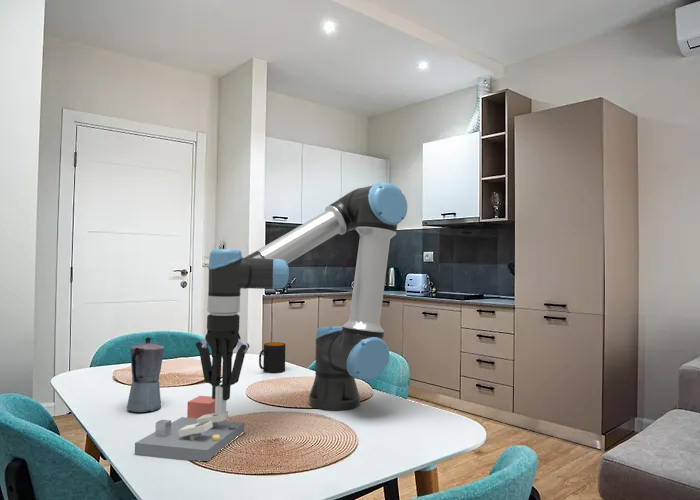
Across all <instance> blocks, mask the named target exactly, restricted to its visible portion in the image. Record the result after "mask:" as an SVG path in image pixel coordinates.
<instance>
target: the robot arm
mask: <svg viewBox="0 0 700 500" xmlns="http://www.w3.org/2000/svg"><path fill="white" fill-rule="evenodd" d="M407 213H408V201H407V199H406V196H405V194H404V193H403V192H402V190H401V188H399V187H398V186H397V185H395V184H392V183H390V182H386V183H384V182H383V183H380V182H379V183H375V184H371V185H368V186H364V187H363V186H362V187H358V188H356V189H354V190H351V191H349V192H348V193H346V194H345V195H343V196H341V197H340V198H339V199H337V200H334V202H332V203H331V204H329V205H327V206H326V207H325V208H324V211H323V212H322V213H320V214H318V215H317V216H315V217H313V218H311V219H310V220H308V221H306V222H304V223H302V224H301V225H299V226H297V227H296V228H294V229H291V231H289V232H287V233H285V234H283V235H281V236H279V237H277V238H276V239H275V240H273V241H271V242H270V243H268V244H266V245H264V246H262V247H261V248H259V249H257V250H256V251H254V252H252V253H250V254H248V255H247V256H245V257H243V255H242V253H243V252H242V251H241V250H240V249H233V248H232V249H229V248H214V249H212V250H211V251H210V253H209V261H208V269H207V270H208V292H207V308H206V310H207V313H209V314H208V315H207V317H206V331H207V332H206V334H205V337H204V339H201V341H197V342H196V343H195V346H196V349H197V350H198V352H199V357H200V363H201V369H202V374H203V375H202V376H203V379H204V382H205V384H210V385H211V397H212V399H215V415H222V414H223V413H225V412H226V411H227V401H228V400H230V398H231V386H232V385H235V384H237V383H238V382H239V379H240V375H241V372H242V368H243V363H244V359H245V355H246V353H247V351H248V350H249V348H250V344H249V343H247V342H246V343H245V342H244V341H242V340H241V335H240V321H241V320H240V318H241V317H240V315H239V314H238V313H240V311H241V289H247V290H248V289H255V290H256V289H257V290H258V289H261V290H265V289H267V290H269V289H270V290H276V289H283V288H285V287H286V286H287V284H288V281H289V277H290V269H289V264H290V263H291V262H293V261H295V260H296V259H298V258H299V257H301V256H302V255H304V254H306V253H308V252H309V251H311V250H313V249H314V248H316V247H317V246H319V245H321V244H322V243H324V242H326V241H328V240H330V239H331V238H333V237H335V236H336V235H341V236H342V235H345V234H346V233H348V232H350V231H352V230H355V231H356V232H357V233H358V235H359V242H358V249H357V256H356V262H355V263H356V265H355V270H354V272H355V273H354V280H353V287H352V295H351V301H350V302H351V303H350V310H349V317H348V318H349V319H348V321H346V322H345V323H344V324H343V325H337V326H335V325H334V326H320V327H319V328H317V330H316V333H315V373H314V374H315V377H314V381H313V383H312V387H311V390H310V392H309V396H308V404H309V406H310V407H312V408H315V409H320V410H325V411H345V410H351V409H355V408H358V407H359V405H360V404H361V396H360V392H359V390H358V389H359V388H358V385H357V383H356V379H358V380H359V379H360V380H363V381H364V380H366V381H369V380H374V379H375V378H377V377H379V375H381V373H383V372H384V371H385V370H386V368H387V366H388V364H389V360H390V348H389V347H388V346H387V343H386V342H385V340H384V337H385V336H384V335H385V330H384V329H383V327H382V326H381V323H380V322H381V315H382V306H383V301H384V299H383V298H384V290H385V283H386V276H387V275H386V274H387V266H388V258H389V251H390V243H391V239H393V237H395V236H396V235H397V232H398V231H397V230H398V224H400V223H401V222H402V221H403V220H405V218H406V217H407ZM235 349H236V350H237V351H236V353H235V354H236V355H235V357H234V362H233V356H234V350H235ZM210 350H211V354H210ZM211 357H212V358H211ZM232 364H233V365H232ZM221 379H222V380H221Z"/></svg>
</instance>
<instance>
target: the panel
mask: <svg viewBox="0 0 700 500" xmlns="http://www.w3.org/2000/svg"><path fill="white" fill-rule="evenodd" d="M196 419H198V418H187V417H185V416H181V417H180V418H177V419H176V420H174V421H171V434H170V435H168V436H166V437H158V436H155V431H153V432H152V433H150V434H148V435H147V436H145V437H142V438H141V439H140V440H138V441H136V442H135V443H134V455H136V456H145V457H154V458H163V459H172V460H173V459H175V460H183V461H191V460H200V461H208V460H209V459H210V458H212V457H213V456H214V455H215V454H216V453H218V452H219V451H220V450H221V449H222V448H224V447H225V446H226V445H227V444H229V443H230V442H231V441H232V440H234V439H235V438H236V437H237V436H239V435H240V434H241V433H242V432H244V431H246V430H245V426H246V424H245V422H243V421H242V422H241V421H231V420H230V421H229V420H223V421H220V422H214V423H212V424H213V427H212V428H210V429H209V430H207V431H206V432H201V433H196V434H192V435H187V436H182V437H179V433H178V430H180V429H182V428H183V427H185V426H187V425H192V424H197V420H196ZM224 449H225V448H224ZM219 453H220V452H219ZM219 453H218V454H219ZM214 457H215V456H214ZM214 457H213V458H214ZM213 458H212V459H213ZM210 460H211V459H210ZM210 460H209V461H210ZM200 461H199V462H200ZM209 461H208V462H209Z"/></svg>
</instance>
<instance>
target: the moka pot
mask: <svg viewBox="0 0 700 500" xmlns="http://www.w3.org/2000/svg"><path fill="white" fill-rule="evenodd" d="M151 341H152V338H151V337H145V343H142V344H137V345H132V346H131V347H130V362H131V363H130V364H131V365H130V366H131V377H132V378H131V380H132V382H131V384H130V385H131V386H130V391H129V395H128V400H127V404H126V410H127V411H129V412H136V413H144V412H146V413H147V412H153V411H157V410H160V409H161V408H162V401H161V399H162V398H161V390H160V389H161V388H160V381H159V380H160V374H161V372H162V363H163V360H164V359H163V358H164V352H165V346H164V345H159V344H155V343H151Z"/></svg>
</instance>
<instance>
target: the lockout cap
mask: <svg viewBox="0 0 700 500" xmlns="http://www.w3.org/2000/svg"><path fill="white" fill-rule="evenodd" d="M186 412H187V413H186V415H187V417H186V418H200V417H201V416H203V415H207V414H212V413H215V399H212V395H210V396H209V395H199V396H196V397H195V398H194V397H193V398H192V399H191V400H189V401H187V410H186Z"/></svg>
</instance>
